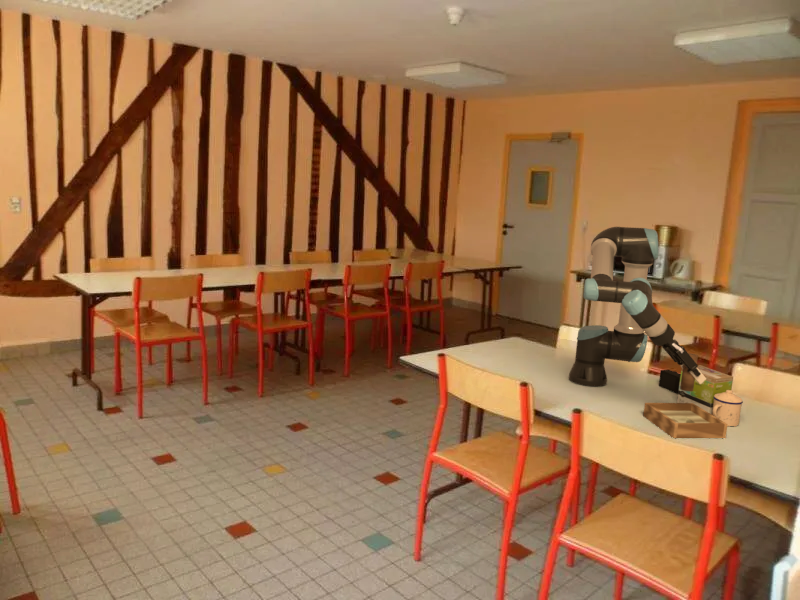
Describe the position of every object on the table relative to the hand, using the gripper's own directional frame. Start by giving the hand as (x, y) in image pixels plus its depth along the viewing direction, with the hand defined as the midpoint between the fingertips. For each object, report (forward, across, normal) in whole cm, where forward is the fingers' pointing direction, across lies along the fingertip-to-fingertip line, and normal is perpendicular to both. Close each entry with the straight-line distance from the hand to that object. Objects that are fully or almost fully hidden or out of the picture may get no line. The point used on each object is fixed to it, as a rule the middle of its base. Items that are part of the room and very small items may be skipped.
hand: (698, 379), depth 209 cm
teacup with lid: (+22, -4, -3) cm, 22 cm away
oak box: (+10, 0, -14) cm, 17 cm away
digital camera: (+24, -41, -1) cm, 47 cm away
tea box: (+23, -18, -2) cm, 29 cm away
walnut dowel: (0, 0, -5) cm, 5 cm away
